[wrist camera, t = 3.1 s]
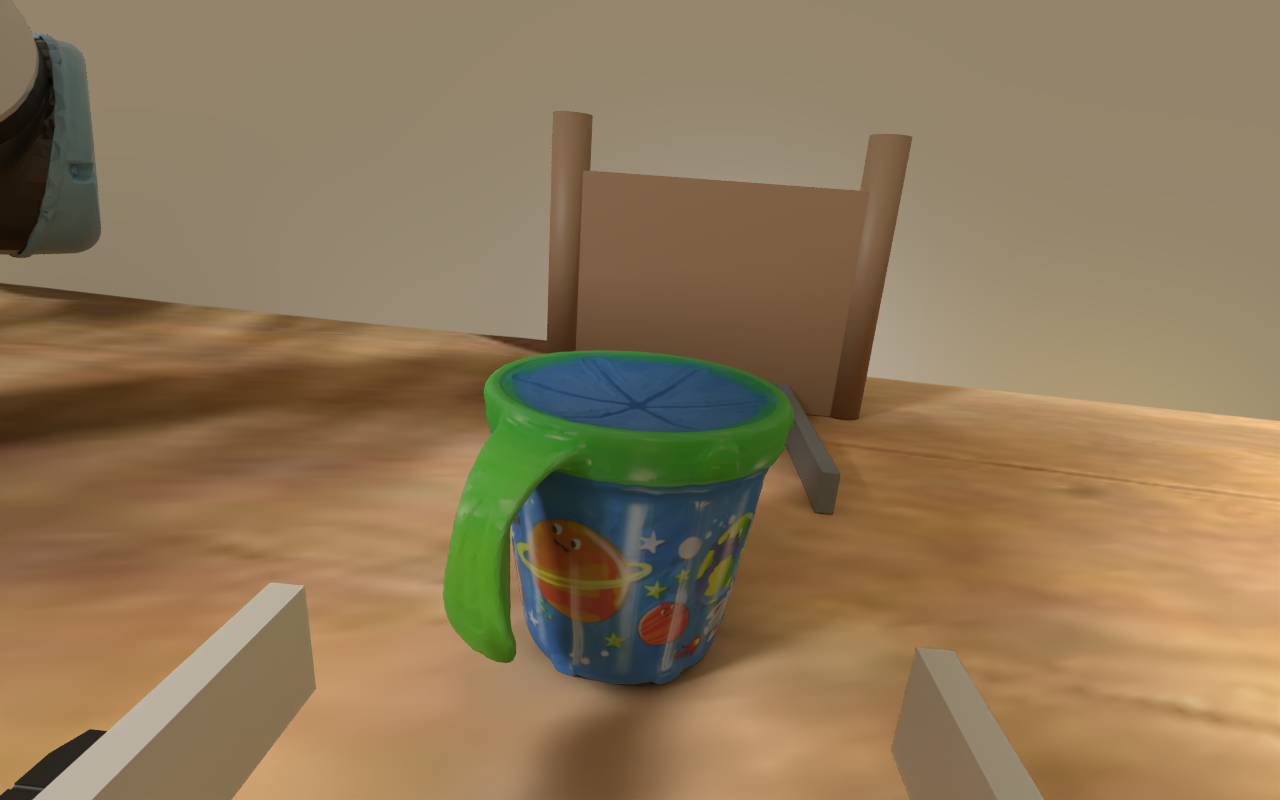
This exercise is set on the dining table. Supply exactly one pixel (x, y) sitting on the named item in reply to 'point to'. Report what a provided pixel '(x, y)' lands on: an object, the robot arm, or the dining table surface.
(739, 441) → the snack cup
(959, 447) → the dining table surface
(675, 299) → the headboard cradle
